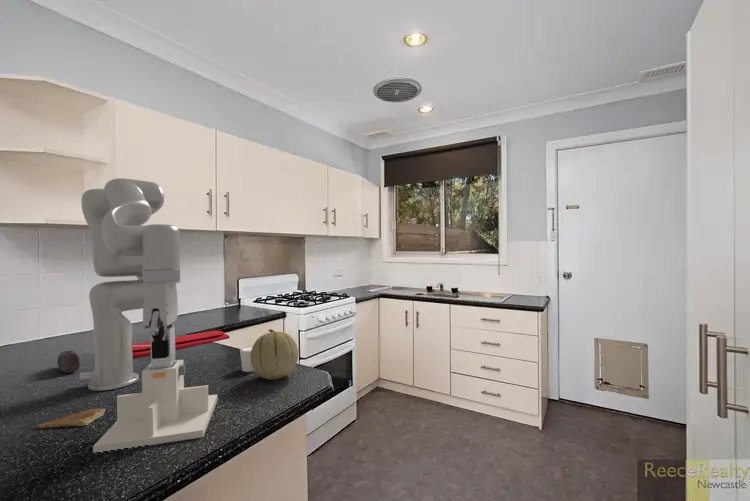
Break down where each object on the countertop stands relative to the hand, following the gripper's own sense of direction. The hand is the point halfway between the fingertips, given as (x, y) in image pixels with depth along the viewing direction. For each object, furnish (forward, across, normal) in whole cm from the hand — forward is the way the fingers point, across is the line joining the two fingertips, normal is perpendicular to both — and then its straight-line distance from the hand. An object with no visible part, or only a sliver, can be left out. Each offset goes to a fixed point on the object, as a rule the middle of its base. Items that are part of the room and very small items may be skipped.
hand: (163, 354), depth 82 cm
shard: (+17, -7, -21) cm, 28 cm away
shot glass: (+16, -34, +17) cm, 41 cm away
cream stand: (+16, 0, 0) cm, 16 cm away
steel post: (+12, 0, 0) cm, 12 cm away
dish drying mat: (+17, -79, -17) cm, 82 cm away
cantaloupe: (+16, -22, +25) cm, 37 cm away
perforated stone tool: (+16, -55, -45) cm, 73 cm away
